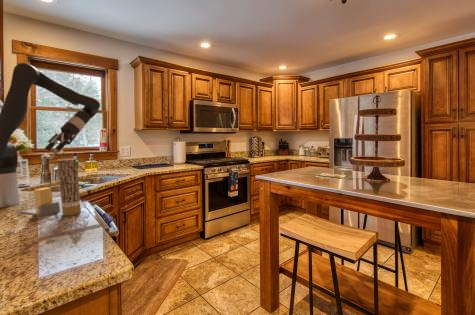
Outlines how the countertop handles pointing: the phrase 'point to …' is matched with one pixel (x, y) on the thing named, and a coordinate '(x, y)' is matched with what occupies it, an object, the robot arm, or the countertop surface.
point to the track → (44, 209)
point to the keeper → (42, 197)
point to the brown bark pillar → (69, 186)
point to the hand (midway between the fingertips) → (52, 149)
